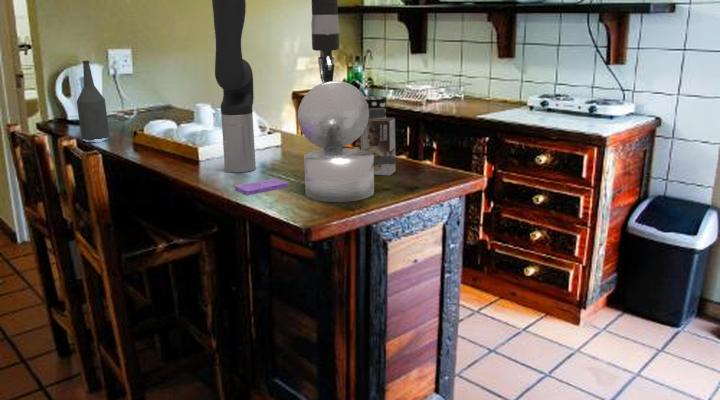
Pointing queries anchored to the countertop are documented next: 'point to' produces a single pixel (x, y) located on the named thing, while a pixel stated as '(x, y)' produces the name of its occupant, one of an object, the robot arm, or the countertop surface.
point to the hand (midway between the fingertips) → (327, 96)
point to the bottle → (91, 109)
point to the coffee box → (380, 142)
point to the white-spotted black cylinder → (375, 105)
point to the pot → (341, 174)
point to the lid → (335, 114)
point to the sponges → (261, 186)
